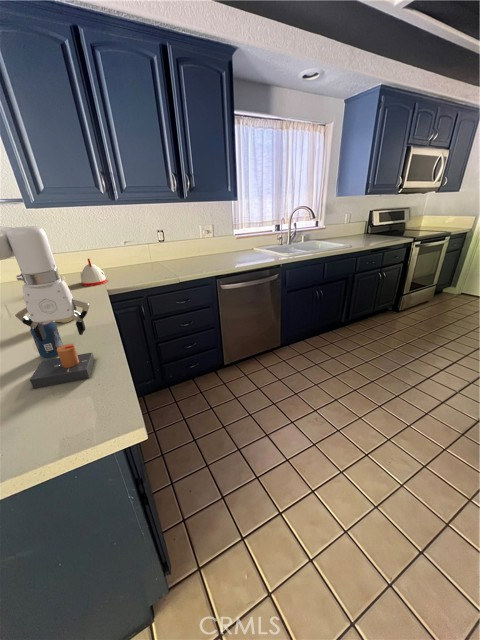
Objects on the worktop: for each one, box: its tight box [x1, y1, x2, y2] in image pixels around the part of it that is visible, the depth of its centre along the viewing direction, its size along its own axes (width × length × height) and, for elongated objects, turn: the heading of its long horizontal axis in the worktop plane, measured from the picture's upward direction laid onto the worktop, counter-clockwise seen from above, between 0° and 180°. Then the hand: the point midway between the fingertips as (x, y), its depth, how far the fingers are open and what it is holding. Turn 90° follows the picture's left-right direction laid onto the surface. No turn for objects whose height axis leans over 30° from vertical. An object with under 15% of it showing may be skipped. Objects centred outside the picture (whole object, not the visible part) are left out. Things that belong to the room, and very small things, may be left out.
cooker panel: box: [29, 352, 95, 389], centre depth 79 cm, size 14×10×3 cm
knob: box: [57, 343, 79, 368], centre depth 78 cm, size 4×4×6 cm
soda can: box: [29, 321, 64, 360], centre depth 87 cm, size 7×7×12 cm
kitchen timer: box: [80, 258, 107, 287], centre depth 165 cm, size 14×14×15 cm
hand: (63, 336), depth 75 cm, fingers open, 9 cm apart
